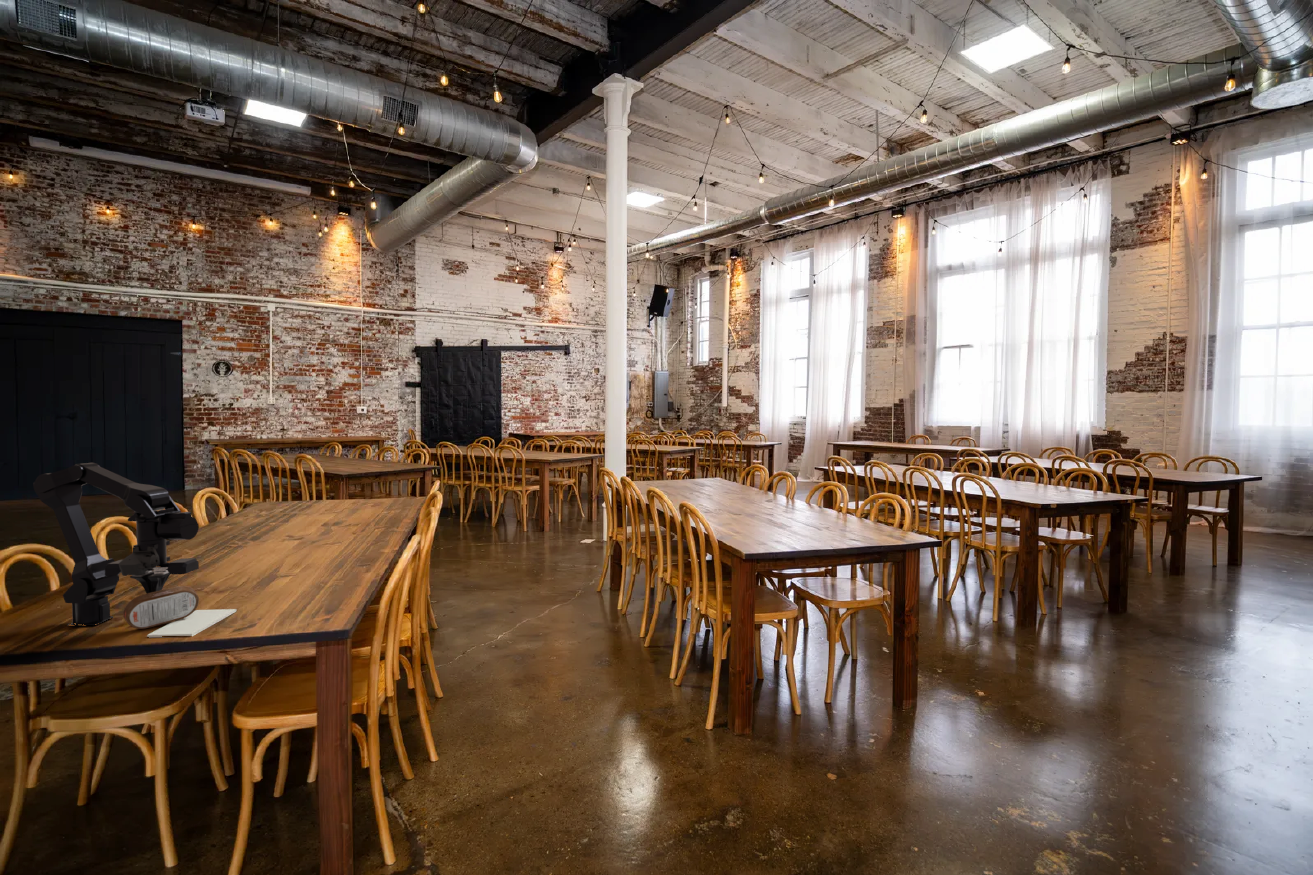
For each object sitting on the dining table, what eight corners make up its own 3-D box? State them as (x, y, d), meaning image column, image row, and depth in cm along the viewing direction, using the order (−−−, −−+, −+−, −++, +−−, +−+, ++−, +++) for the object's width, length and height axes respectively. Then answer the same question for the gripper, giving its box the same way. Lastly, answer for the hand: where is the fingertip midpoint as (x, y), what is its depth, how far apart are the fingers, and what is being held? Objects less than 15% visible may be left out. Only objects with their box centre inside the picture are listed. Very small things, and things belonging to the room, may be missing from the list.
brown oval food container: (197, 610, 168) (195, 580, 166) (201, 615, 166) (199, 585, 164) (124, 630, 157) (121, 598, 155) (127, 635, 155) (124, 603, 153)
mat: (147, 637, 153) (147, 635, 153) (196, 612, 172) (196, 610, 172) (192, 636, 154) (191, 634, 154) (236, 611, 173) (236, 609, 173)
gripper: (85, 546, 151) (88, 612, 152) (170, 545, 153) (172, 610, 154) (120, 537, 162) (122, 598, 163) (199, 535, 164) (200, 596, 165)
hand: (153, 601), depth 161 cm, fingers closed
